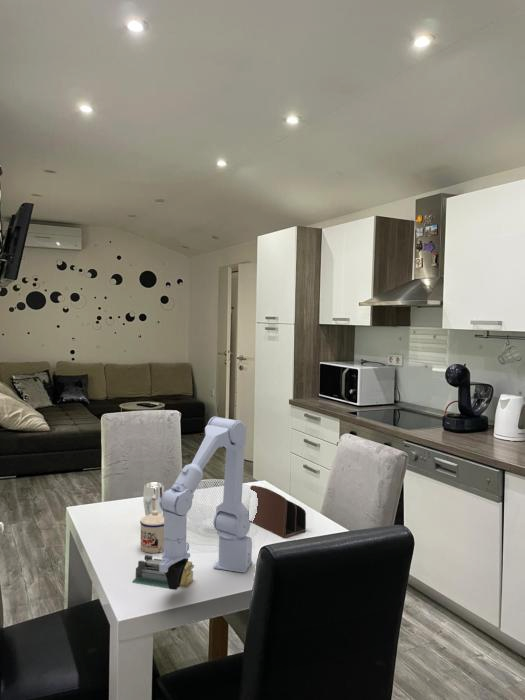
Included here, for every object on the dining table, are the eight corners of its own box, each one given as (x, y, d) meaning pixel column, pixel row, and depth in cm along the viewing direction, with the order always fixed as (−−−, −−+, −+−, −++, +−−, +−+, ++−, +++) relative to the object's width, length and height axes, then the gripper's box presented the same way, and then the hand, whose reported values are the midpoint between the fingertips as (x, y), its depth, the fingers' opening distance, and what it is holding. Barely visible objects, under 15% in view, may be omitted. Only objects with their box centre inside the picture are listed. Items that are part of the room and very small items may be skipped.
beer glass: (165, 525, 193) (166, 482, 192) (160, 532, 186) (161, 488, 185) (146, 523, 194) (147, 481, 193) (140, 531, 187) (140, 487, 186)
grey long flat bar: (194, 567, 153) (194, 564, 153) (190, 571, 151) (190, 567, 151) (145, 561, 157) (145, 558, 157) (141, 565, 155) (141, 561, 154)
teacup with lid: (133, 550, 172) (134, 513, 171) (151, 539, 180) (151, 504, 179) (165, 558, 167) (166, 519, 166) (182, 547, 175) (183, 510, 174)
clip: (193, 579, 154) (193, 562, 153) (187, 586, 149) (187, 569, 149) (183, 577, 154) (183, 560, 154) (176, 585, 150) (177, 567, 150)
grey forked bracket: (152, 571, 158) (152, 555, 158) (144, 578, 153) (144, 562, 153) (143, 569, 158) (143, 554, 158) (135, 576, 154) (135, 561, 154)
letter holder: (284, 539, 184) (285, 497, 183) (247, 521, 199) (248, 482, 199) (306, 532, 190) (307, 492, 189) (269, 515, 206) (270, 478, 205)
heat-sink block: (187, 570, 158) (187, 560, 158) (171, 588, 148) (171, 577, 148) (150, 565, 161) (150, 555, 161) (132, 582, 151) (132, 571, 151)
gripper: (178, 549, 136) (177, 603, 136) (199, 528, 150) (199, 577, 150) (151, 545, 137) (151, 599, 138) (175, 525, 151) (174, 573, 152)
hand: (174, 587), depth 144 cm, fingers closed
